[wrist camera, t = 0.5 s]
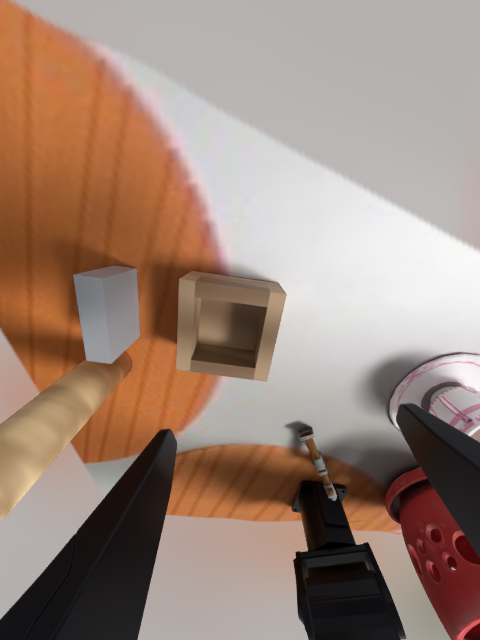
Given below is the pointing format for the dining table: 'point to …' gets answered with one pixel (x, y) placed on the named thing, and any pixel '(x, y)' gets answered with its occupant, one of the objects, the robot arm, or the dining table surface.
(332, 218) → the dining table surface
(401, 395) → the teacup
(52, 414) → the dowel
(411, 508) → the plant pot
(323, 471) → the brown and silver rod
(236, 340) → the socket block
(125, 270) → the wall
